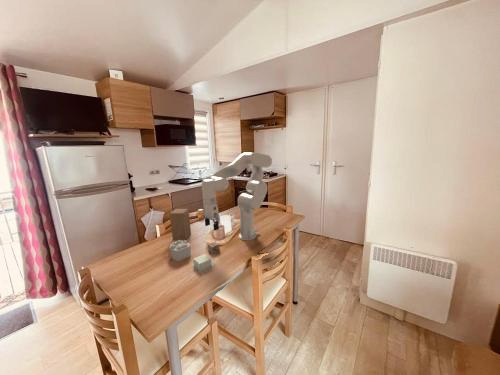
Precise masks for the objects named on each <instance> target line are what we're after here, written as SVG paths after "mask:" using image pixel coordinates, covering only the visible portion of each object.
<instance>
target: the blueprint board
mask: <svg viewBox="0 0 500 375" xmlns="http://www.w3.org/2000/svg"><path fill="white" fill-rule="evenodd" d="M191 266H192V268H194V270H196V271H197V272H198V273H202V272H204V271H206V270H208V269H210V268H212V267H214V266H215V264H213V263H212V265H211V266H209V267H207V268H205V269H203V270H201V271H200V270H199V269H198V268H196V267H195V266H194V263H193V264H191Z"/></svg>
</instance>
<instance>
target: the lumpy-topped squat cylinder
mask: <svg viewBox="0 0 500 375" xmlns="http://www.w3.org/2000/svg"><path fill="white" fill-rule="evenodd" d="M169 254H170V259H172V260H173V261H176V262H179V261H183V260H185V259H188V258H190V257H191V256H192V249H191V244H190V243H189V242H188V241H187V239H186V240H174V241H173V242H171V243H170V245H169Z"/></svg>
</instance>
